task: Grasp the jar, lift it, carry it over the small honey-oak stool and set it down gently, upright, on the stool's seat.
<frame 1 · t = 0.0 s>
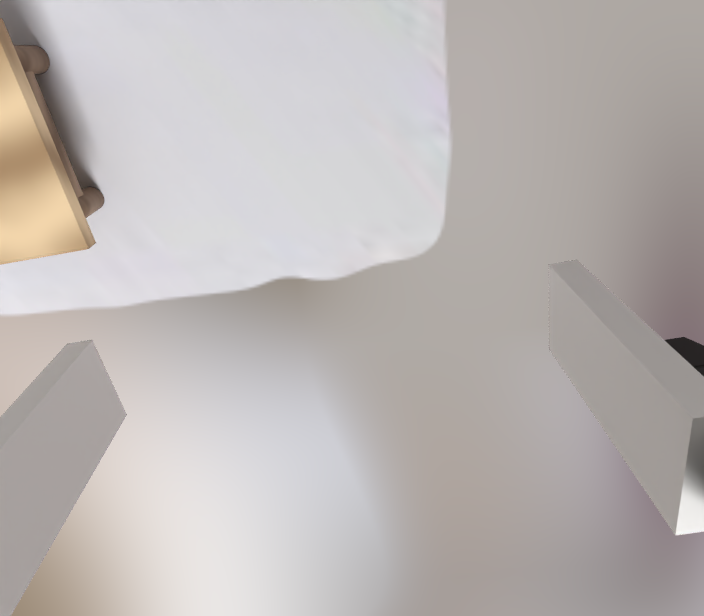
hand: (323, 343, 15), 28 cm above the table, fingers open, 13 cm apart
stool: (2, 145, 39), on the table
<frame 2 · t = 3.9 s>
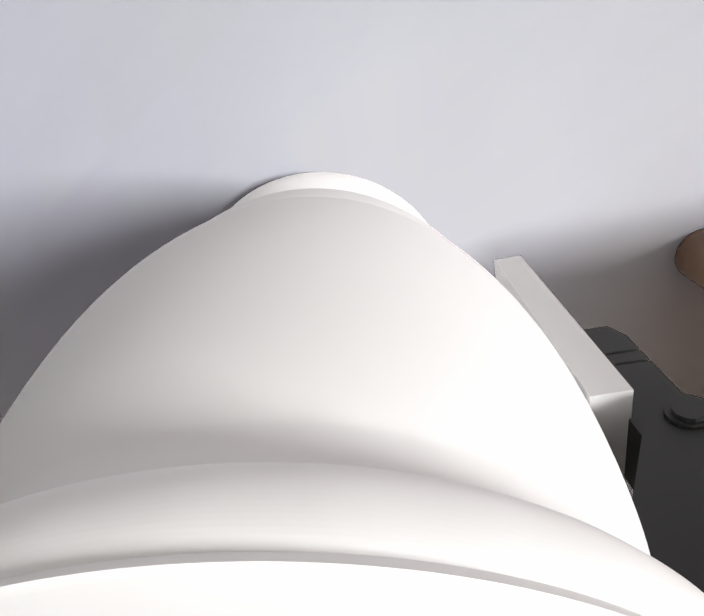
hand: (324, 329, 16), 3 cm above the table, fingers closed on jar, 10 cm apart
jar: (326, 286, 19), on the table, touching gripper
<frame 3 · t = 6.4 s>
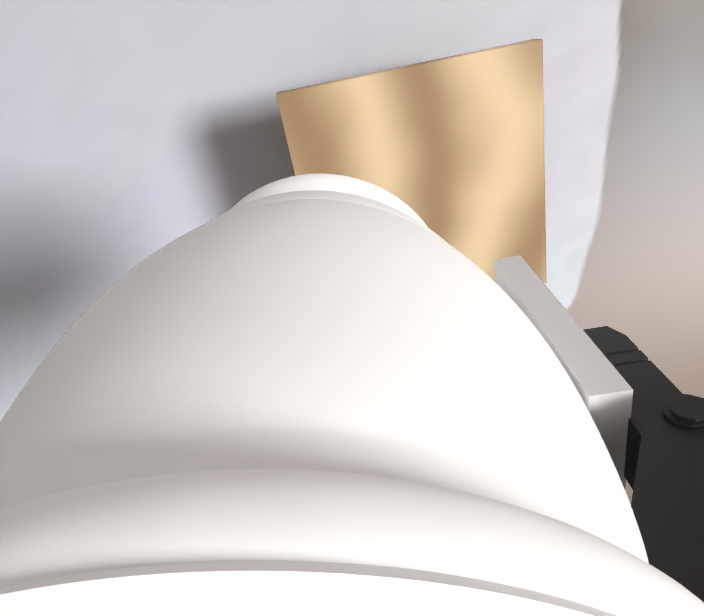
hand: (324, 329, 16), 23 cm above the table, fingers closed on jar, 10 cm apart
jar: (325, 288, 19), point 20 cm above the table, touching gripper
stool: (407, 170, 37), on the table
when the fingers open (11 cm above the table, at t = 9.3 s): jar drops 1 cm, resting on stool.
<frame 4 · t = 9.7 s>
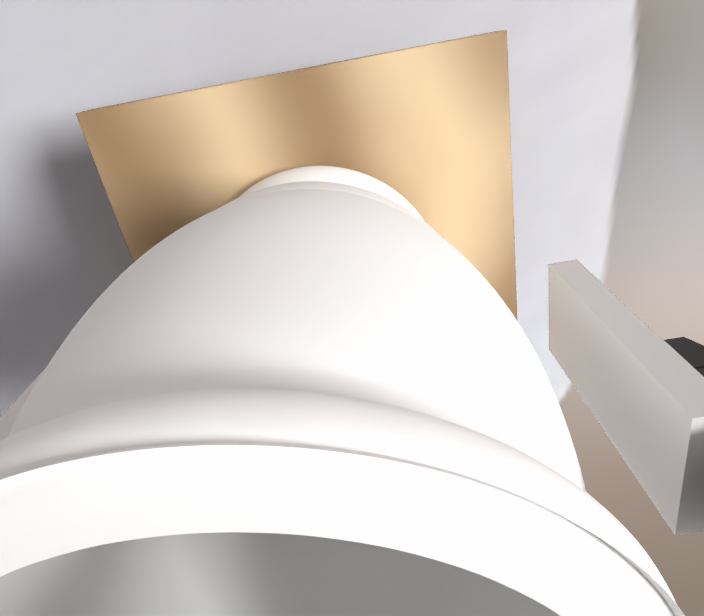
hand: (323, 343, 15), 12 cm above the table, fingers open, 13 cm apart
jar: (326, 273, 20), point 7 cm above the table, touching stool
stool: (331, 217, 26), on the table
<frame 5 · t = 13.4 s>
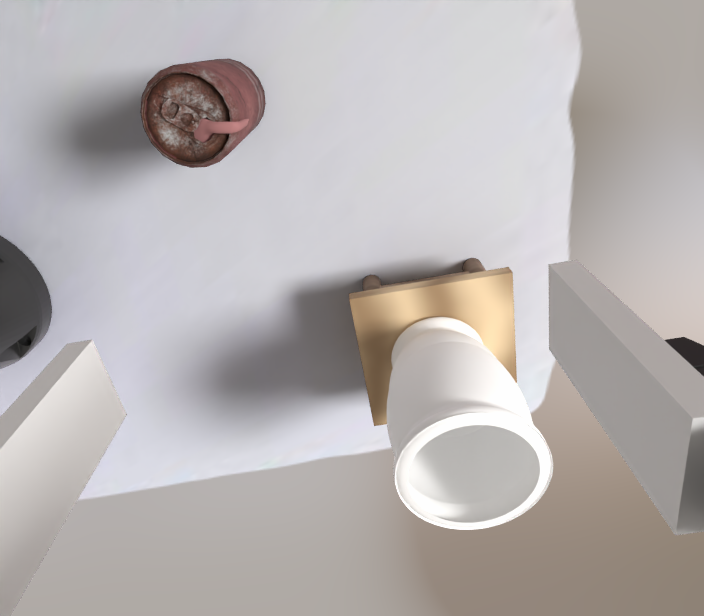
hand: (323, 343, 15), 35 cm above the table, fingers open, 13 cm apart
can: (231, 98, 45), on the table
jar: (436, 354, 48), point 7 cm above the table, touching stool
stool: (427, 318, 54), on the table
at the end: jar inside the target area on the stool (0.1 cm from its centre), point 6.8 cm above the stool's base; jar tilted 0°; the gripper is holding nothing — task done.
